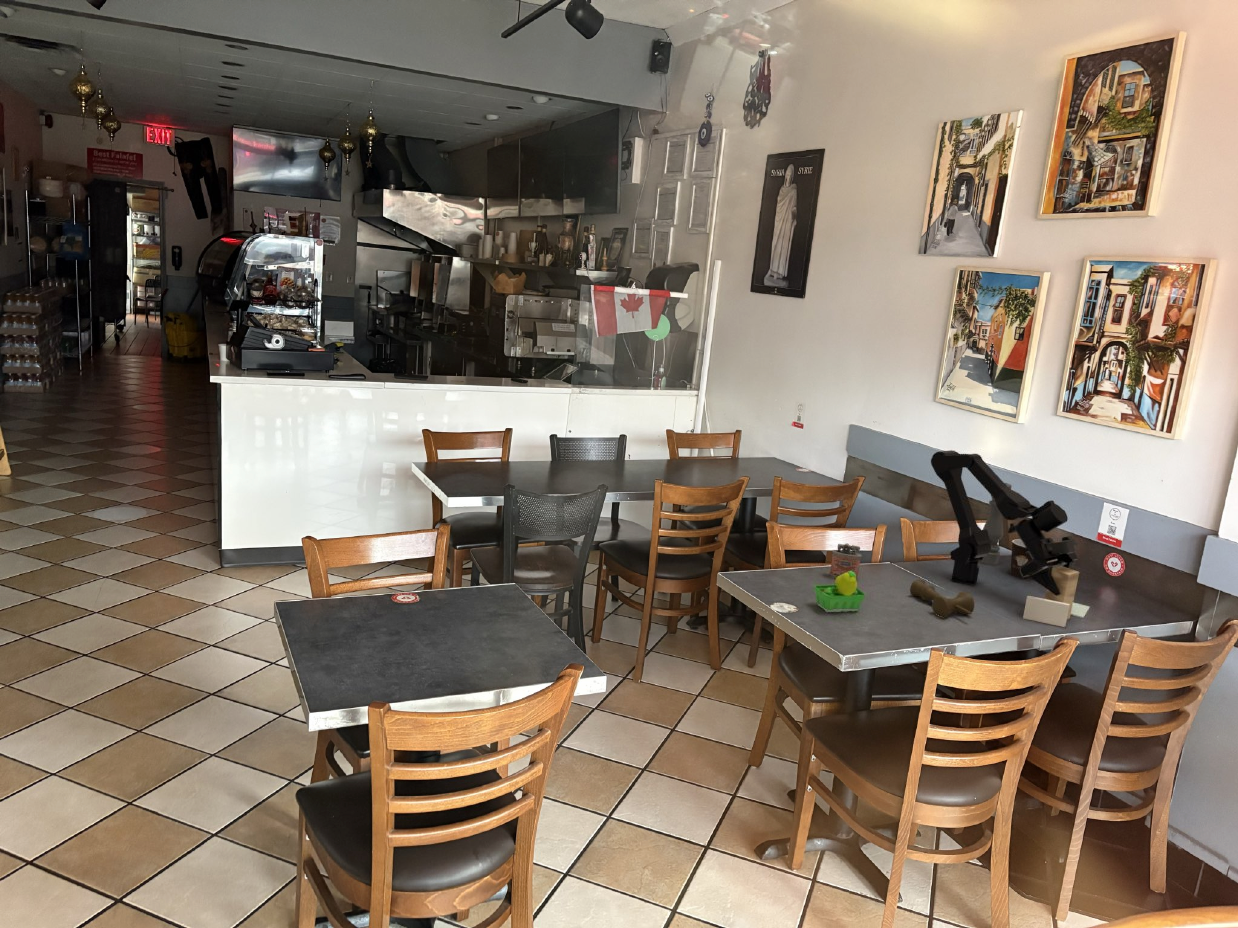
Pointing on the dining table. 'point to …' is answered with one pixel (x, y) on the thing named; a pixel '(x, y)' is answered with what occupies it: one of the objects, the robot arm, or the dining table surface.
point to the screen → (1046, 611)
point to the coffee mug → (1019, 558)
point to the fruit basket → (840, 593)
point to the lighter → (845, 560)
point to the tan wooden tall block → (1064, 586)
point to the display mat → (1079, 610)
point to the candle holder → (994, 532)
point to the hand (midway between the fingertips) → (1065, 592)
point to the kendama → (943, 599)
